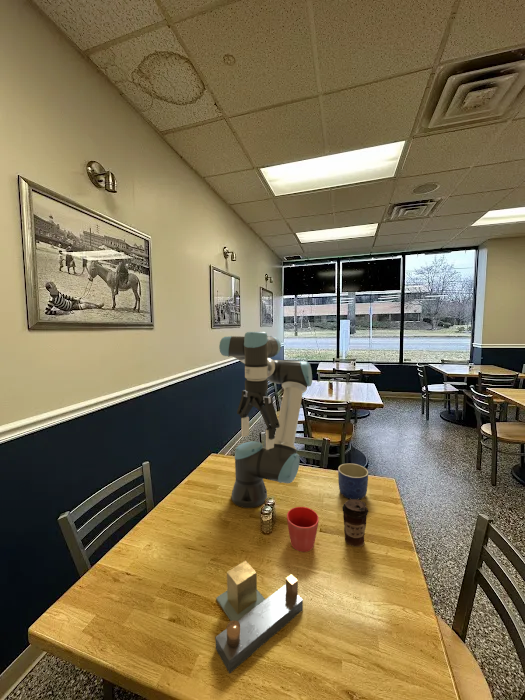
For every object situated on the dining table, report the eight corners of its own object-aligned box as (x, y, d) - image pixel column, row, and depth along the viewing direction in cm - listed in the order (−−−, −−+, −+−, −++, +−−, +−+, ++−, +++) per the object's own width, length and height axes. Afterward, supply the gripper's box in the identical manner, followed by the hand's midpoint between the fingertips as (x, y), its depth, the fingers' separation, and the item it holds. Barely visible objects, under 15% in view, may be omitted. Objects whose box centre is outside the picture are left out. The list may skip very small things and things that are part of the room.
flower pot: (322, 537, 100) (322, 510, 100) (313, 560, 90) (313, 531, 90) (292, 528, 105) (292, 503, 104) (282, 550, 95) (281, 522, 94)
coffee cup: (369, 552, 93) (370, 514, 92) (342, 548, 95) (343, 511, 94) (365, 533, 102) (366, 498, 101) (341, 530, 104) (341, 495, 103)
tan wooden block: (237, 614, 73) (237, 585, 73) (227, 599, 77) (226, 571, 76) (256, 600, 77) (256, 572, 76) (246, 587, 81) (245, 560, 80)
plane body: (229, 673, 61) (228, 643, 61) (215, 649, 66) (214, 620, 65) (302, 610, 75) (302, 585, 74) (286, 593, 79) (286, 569, 79)
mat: (216, 599, 78) (216, 597, 78) (246, 579, 84) (246, 577, 84) (236, 630, 70) (236, 627, 70) (268, 605, 76) (268, 603, 76)
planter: (370, 491, 128) (371, 467, 127) (363, 506, 117) (364, 480, 116) (342, 483, 134) (343, 460, 133) (334, 497, 124) (334, 472, 123)
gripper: (226, 375, 102) (227, 433, 104) (271, 386, 83) (272, 458, 85) (244, 372, 107) (245, 428, 109) (290, 383, 87) (291, 451, 89)
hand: (257, 441), depth 97 cm, fingers open, 13 cm apart
